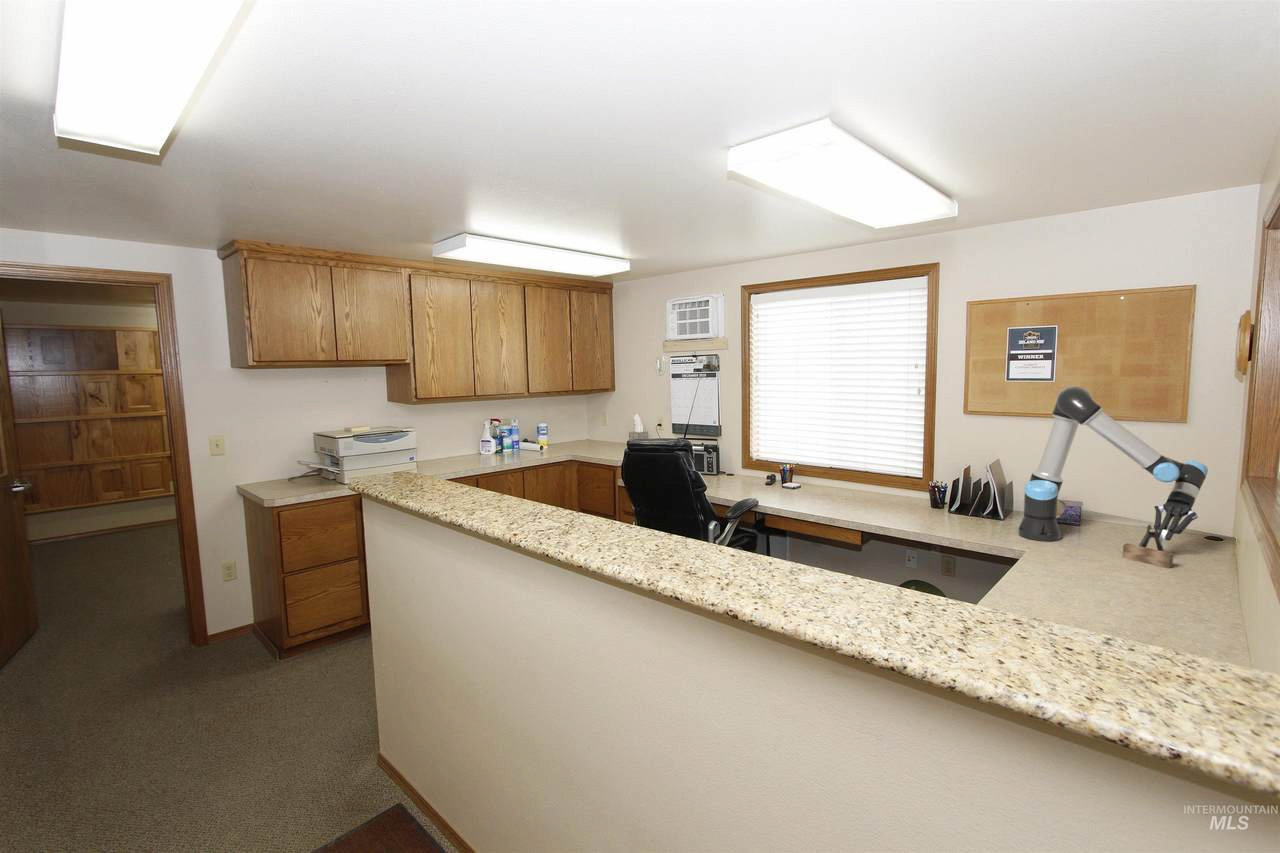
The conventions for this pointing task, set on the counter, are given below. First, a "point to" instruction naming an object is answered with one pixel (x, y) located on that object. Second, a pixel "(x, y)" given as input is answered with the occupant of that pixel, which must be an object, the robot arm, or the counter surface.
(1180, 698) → the counter surface
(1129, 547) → the block
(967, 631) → the counter surface
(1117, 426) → the robot arm
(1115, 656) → the counter surface
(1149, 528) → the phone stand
